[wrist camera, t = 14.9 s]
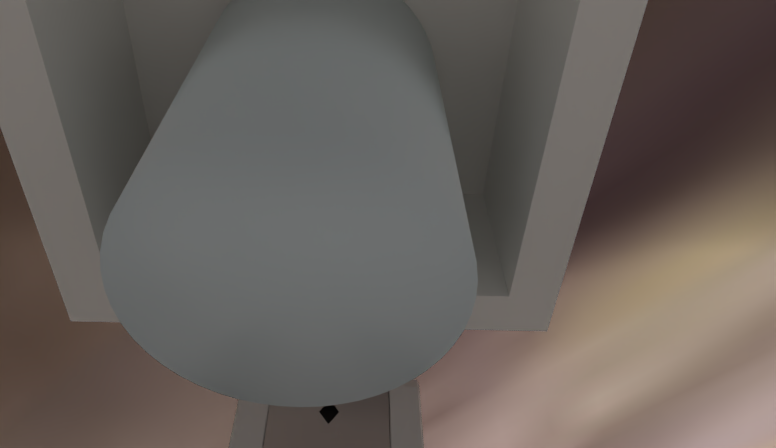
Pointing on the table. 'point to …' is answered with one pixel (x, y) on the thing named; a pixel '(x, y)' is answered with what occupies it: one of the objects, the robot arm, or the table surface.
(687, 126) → the table surface
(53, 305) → the table surface
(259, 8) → the tray
